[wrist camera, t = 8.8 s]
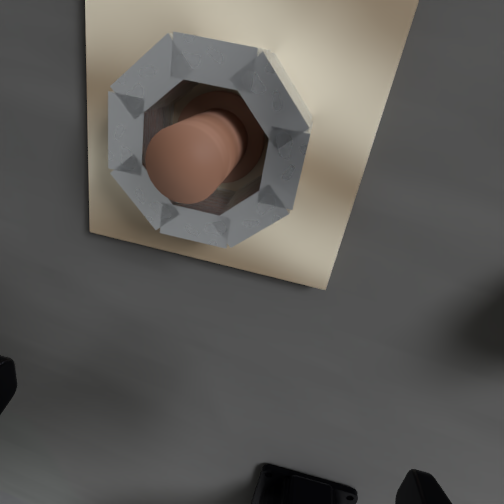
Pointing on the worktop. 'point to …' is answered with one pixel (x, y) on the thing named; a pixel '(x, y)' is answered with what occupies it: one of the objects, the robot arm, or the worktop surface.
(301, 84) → the post stand
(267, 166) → the ring
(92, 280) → the worktop surface
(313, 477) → the robot arm
